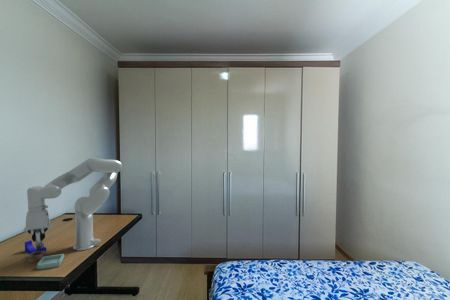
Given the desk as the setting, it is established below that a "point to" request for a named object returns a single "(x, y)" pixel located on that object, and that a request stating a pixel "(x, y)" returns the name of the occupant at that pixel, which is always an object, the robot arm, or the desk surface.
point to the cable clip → (32, 247)
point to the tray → (50, 261)
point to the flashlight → (38, 239)
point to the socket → (36, 256)
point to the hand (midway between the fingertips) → (38, 240)
